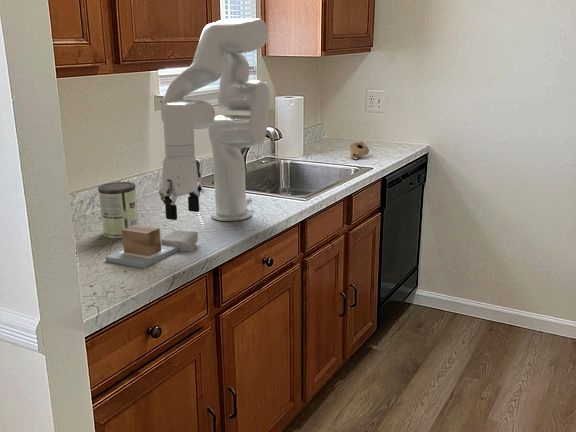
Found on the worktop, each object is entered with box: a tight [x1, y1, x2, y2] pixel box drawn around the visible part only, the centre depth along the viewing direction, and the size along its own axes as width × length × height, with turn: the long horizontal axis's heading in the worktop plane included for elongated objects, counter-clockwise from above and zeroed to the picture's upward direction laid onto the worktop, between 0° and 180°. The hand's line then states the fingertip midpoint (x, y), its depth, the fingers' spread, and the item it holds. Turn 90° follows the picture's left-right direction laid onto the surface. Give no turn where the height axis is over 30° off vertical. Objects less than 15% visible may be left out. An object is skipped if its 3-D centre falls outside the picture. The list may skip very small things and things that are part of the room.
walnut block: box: [122, 224, 161, 256], centre depth 154 cm, size 5×8×6 cm, turn 63°
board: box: [105, 244, 179, 269], centre depth 155 cm, size 14×12×1 cm
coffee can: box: [97, 181, 140, 239], centre depth 172 cm, size 10×10×14 cm
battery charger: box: [195, 158, 203, 190], centre depth 224 cm, size 7×4×11 cm, turn 67°
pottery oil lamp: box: [349, 141, 370, 159], centre depth 280 cm, size 9×12×7 cm
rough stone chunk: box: [160, 229, 199, 253], centre depth 161 cm, size 10×6×6 cm, turn 60°
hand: (183, 215), depth 160 cm, fingers open, 9 cm apart
